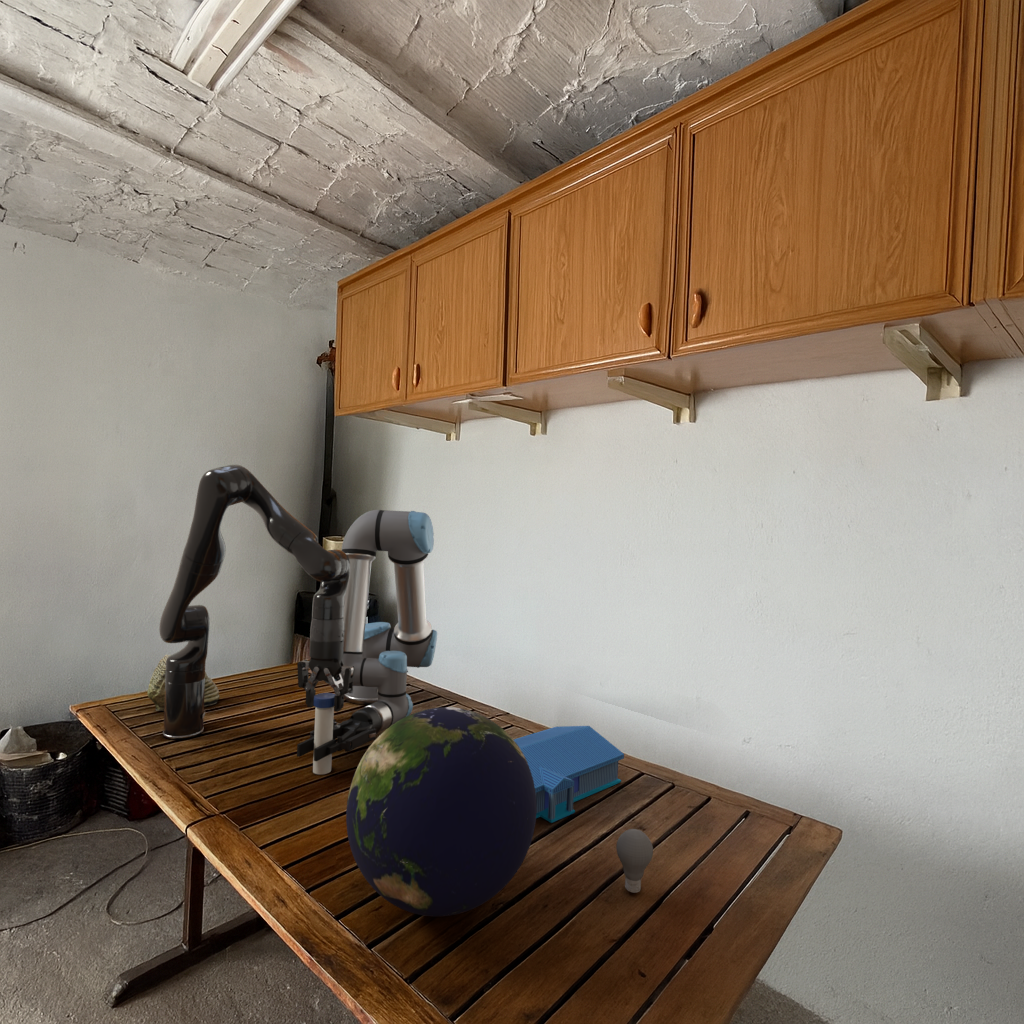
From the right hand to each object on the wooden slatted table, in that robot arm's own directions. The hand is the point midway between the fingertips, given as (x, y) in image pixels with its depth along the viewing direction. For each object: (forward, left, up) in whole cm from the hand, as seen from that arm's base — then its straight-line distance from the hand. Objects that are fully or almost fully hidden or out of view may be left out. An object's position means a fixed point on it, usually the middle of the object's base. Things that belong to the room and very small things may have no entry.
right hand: (307, 752), depth 141 cm
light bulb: (+38, +65, -6) cm, 76 cm away
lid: (-5, +2, +11) cm, 12 cm away
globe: (+41, +33, -6) cm, 53 cm away
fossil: (-45, -49, -6) cm, 67 cm away
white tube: (-5, +2, -6) cm, 8 cm away
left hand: (-5, +2, +8) cm, 10 cm away
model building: (+2, +51, -6) cm, 51 cm away
